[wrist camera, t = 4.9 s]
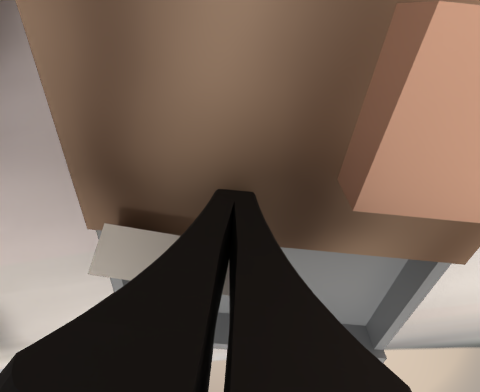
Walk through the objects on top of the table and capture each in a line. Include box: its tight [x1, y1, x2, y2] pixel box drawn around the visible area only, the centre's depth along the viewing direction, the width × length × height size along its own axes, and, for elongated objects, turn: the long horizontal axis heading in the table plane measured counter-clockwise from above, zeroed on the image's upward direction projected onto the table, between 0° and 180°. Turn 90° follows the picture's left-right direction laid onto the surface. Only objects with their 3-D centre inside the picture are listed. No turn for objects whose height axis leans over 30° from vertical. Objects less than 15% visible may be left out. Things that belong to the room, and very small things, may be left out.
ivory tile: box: [88, 223, 229, 296], centre depth 12 cm, size 5×5×2 cm
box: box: [96, 230, 452, 363], centre depth 15 cm, size 16×9×2 cm, turn 85°
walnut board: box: [16, 0, 480, 265], centre depth 10 cm, size 16×10×2 cm, turn 85°
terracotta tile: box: [337, 1, 480, 223], centre depth 7 cm, size 5×5×2 cm
